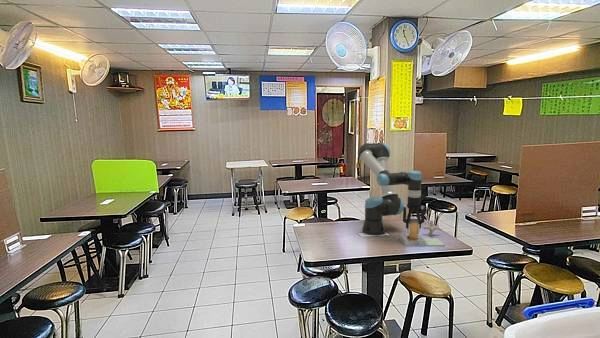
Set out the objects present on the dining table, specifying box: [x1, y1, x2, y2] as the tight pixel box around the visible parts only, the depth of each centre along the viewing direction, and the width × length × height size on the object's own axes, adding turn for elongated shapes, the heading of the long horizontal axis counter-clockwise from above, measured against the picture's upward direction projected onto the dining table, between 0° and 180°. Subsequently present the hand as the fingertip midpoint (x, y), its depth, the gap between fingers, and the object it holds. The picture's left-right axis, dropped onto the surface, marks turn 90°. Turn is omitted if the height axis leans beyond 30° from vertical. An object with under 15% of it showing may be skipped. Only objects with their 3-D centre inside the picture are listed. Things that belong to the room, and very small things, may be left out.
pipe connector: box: [422, 219, 441, 237], centre depth 205 cm, size 10×10×10 cm
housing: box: [399, 233, 427, 247], centre depth 193 cm, size 12×12×3 cm
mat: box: [423, 238, 446, 247], centre depth 192 cm, size 11×10×1 cm
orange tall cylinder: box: [408, 218, 418, 240], centre depth 192 cm, size 5×5×14 cm
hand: (413, 233), depth 193 cm, fingers closed on orange tall cylinder, 5 cm apart
